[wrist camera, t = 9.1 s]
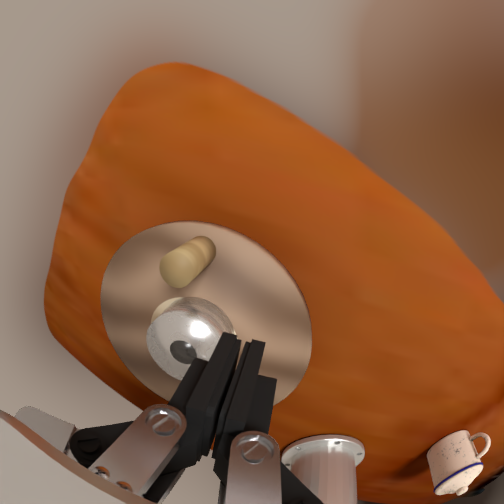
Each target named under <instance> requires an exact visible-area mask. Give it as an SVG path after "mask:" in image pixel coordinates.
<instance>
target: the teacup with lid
mask: <svg viewBox="0 0 504 504" xmlns="http://www.w3.org/2000/svg"><path fill="white" fill-rule="evenodd" d="M477 437H483V438H484V439H485V441H486V445H485V448H484V449H483V450H482V452H480V453H479V454H477V451H476V448H475V446H474V443H473V440H474V439H476V438H477ZM490 444H491V440H490V437H489V436H488V435H487V434H485V433H476V434H474V435H473V436H470V434H469V432H468V431H466V430H461V431H457V432H454V433H452V434H449V435H447V436H446V437H444V438H442V439H441V440H439V441H438V442H437V443H435V444H434V445H433V446H432V447H431V448H430V450H429V451H428V453H427V459H428V463H429V467H430V471H431V475H432V479H433V483H434V492H435V493H436V494H437V495H443V494H447V493H455V492H456V493H457V495H461V494H463V493H465V492H466V491H467V490H468V487H467V486H468V485H469V484H470V483H471V482H472V481H473V480H474V478H475V477H477V476H478V475H479V474H480V472H481V471H482V469H483V463H482V462H481V461H480V459H479V458H481V457H482V456H483V455H484V454H485V453H486V452H487V451H488V449H489V447H490Z"/></svg>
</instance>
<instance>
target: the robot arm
mask: <svg viewBox="0 0 504 504" xmlns="http://www.w3.org/2000/svg"><path fill="white" fill-rule="evenodd" d="M241 342H242V340H239V339H237V335H235V334H231V333H227V332H223V333H222V335H221V337H220V339H219V341H218V343H217V345H216V347H215V349H214V351H213V353H212V355H211V357H210V359H209V361H206V360H203V359H200V358H194V360H193V361H192V363H191V365H190V367H189V368H188V370H187V372H186V374H185V375H184V377H183V379H182V381H181V382H180V384H179V386H178V387H177V389H176V391H175V393H174V394H173V396H172V398H171V400H170V401H169V403H168V405H164V404H158V405H153V406H150V407H148V408H147V409H145V410H144V411H143V412H142V413H141V414H140V415H139V417H137V419H136V420H135V421H130V422H124V423H119V424H113V425H106V426H100V427H92V428H85V429H78V428H76V427H75V425H73V424H70V423H68V422H66V421H63V420H61V419H58V418H56V417H54V416H52V415H49V414H47V413H45V412H43V411H40V410H39V409H37V408H34V407H31V406H28V407H23V408H21V409H20V410H19V411H18V412H17V413H16V415H15V417H13V416H11V415H10V414H8V413H6V412H4V411H2V410H0V504H162V502H163V501H164V499H165V498H166V497H167V495H168V494H169V493H170V491H171V490H172V488H173V487H174V485H175V484H176V483H177V481H178V480H179V478H180V477H181V475H182V474H183V472H184V471H185V468H187V467H190V466H193V465H195V464H196V462H197V461H200V459H201V456H202V455H204V456H208V454H209V451H210V448H211V445H212V443H213V440H214V437H215V442H214V447H213V453H212V458H214V459H215V464H214V469H213V471H214V472H215V473H216V475H217V476H218V477H219V479H220V480H221V481H220V490H219V498H218V504H357V485H356V467H355V466H357V465H358V464H359V463H360V462H361V461H362V460H363V458H364V456H365V450H364V446H363V444H362V443H361V442H360V441H358V440H357V439H355V438H352V437H349V436H344V435H318V436H312V437H308V438H304V439H301V440H298V441H296V442H294V443H292V444H290V445H289V446H288V447H286V449H285V450H284V451H283V454H282V460H281V461H282V462H281V461H280V450H279V446H278V444H277V442H276V441H275V440H274V439H273V438H272V437H271V436H270V435H268V431H269V426H270V420H271V414H272V409H273V403H274V397H275V391H276V384H277V379H276V378H272V377H267V376H263V375H258V373H259V369H260V365H261V361H262V357H263V352H264V348H265V344H266V342H263V341H258V340H254V339H252V341H251V342H247V341H246V342H245V345H244V348H243V351H242V354H241V356H240V359H239V362H238V365H237V361H238V356H239V351H240V347H241ZM236 366H237V368H236ZM215 435H216V436H215Z"/></svg>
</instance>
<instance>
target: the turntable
mask: <svg viewBox="0 0 504 504" xmlns="http://www.w3.org/2000/svg"><path fill="white" fill-rule="evenodd" d="M183 297H199V298H202V299H205V300H208V301H210V302H212V303H213V304H215V305H216V306H218V307H219V308H220V309H221V310H222V311H223V312H224V313H225V314H226V315H227V316H228V318H229V319H230V321H231V323H232V325H233V328H234V333H235V335H237V339H239V340H242V342H241V347H240V351H239V356H238V361H237V365H238V362H239V359H240V356H241V354H242V351H243V348H244V345H245V342H246V341H247V342H251V341H252V339H254V340H258V341H263V342H266V344H265V348H264V352H263V357H262V361H261V365H260V369H259V373H258V375H263V376H267V377H272V378H276V379H277V384H276V391H275V397H274V403H273V405H275V404H277V403H279V402H280V401H281V400H283V399H284V398H286V397H287V396H288V395H289V394H290V393H291V392H292V391H293V390H294V389H295V388H296V386H297V385H298V384H299V382H300V381H301V380H302V378H303V376H304V374H305V372H306V370H307V367H308V364H309V360H310V356H311V348H312V330H311V320H310V315H309V310H308V307H307V304H306V301H305V299H304V296H303V294H302V292H301V290H300V288H299V287H298V285H297V283H296V281H295V280H294V278H293V277H292V276H291V274H290V273H289V272H288V270H287V269H286V268H285V266H284V265H283V264H282V263H281V262H280V261H279V260H278V259H277V258H276V257H275V256H274V255H273V254H272V253H270V252H269V251H268V250H266V249H265V248H264V247H263V246H261V245H260V244H259V243H257V242H255V241H254V240H252V239H250V238H249V237H247V236H245V235H244V234H241V233H239V232H237V231H235V230H232V229H230V228H228V227H224V226H221V225H217V224H214V223H209V222H202V221H175V222H169V223H164V224H161V225H158V226H155V227H152V228H149V229H147V230H144V231H142V232H141V233H139V234H137V235H135V236H133V237H132V238H130V239H129V240H128V241H127V242H125V243H124V244H123V245H122V246H121V247H120V248H119V249H118V250H117V252H116V253H115V254H114V256H113V257H112V259H111V260H110V262H109V264H108V266H107V269H106V271H105V274H104V278H103V281H102V287H101V310H102V317H103V321H104V325H105V329H106V331H107V334H108V336H109V339H110V341H111V343H112V345H113V347H114V349H115V351H116V352H117V354H118V355H119V357H120V359H121V360H122V361H123V363H124V364H125V365H126V367H127V368H128V369H129V370H130V371H131V372H132V373H133V375H134V376H135V377H136V378H137V379H138V380H140V381H141V382H142V383H143V384H144V385H145V386H146V387H148V388H149V389H150V390H152V391H153V392H154V393H156V394H157V395H159V396H161V397H162V398H164V399H165V400H167V401H170V400H171V398H172V396H173V394H174V393H175V391H176V389H177V387H178V386H179V384H180V382H181V380H178V379H176V378H174V377H172V376H171V375H169V374H168V373H166V372H165V371H164V370H162V369H161V368H160V367H159V366H158V364H157V363H156V362H155V361H154V359H153V358H152V356H151V354H150V352H149V350H148V347H147V342H146V335H147V330H148V328H149V326H150V325H151V323H152V322H153V321H154V320H155V319H156V318H157V317H158V316H159V315H160V314H161V313H162V312H163V311H164V310H165V309H166V308H167V307H168V306H169V305H170V304H171V303H172V302H174V301H175V300H177V299H179V298H183ZM236 368H237V366H236Z"/></svg>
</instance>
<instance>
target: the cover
mask: <svg viewBox="0 0 504 504" xmlns="http://www.w3.org/2000/svg"><path fill="white" fill-rule="evenodd" d="M223 332H227V333H231V334H235V333H234V328H233V325H232V323H231V321H230V319H229V318H228V316H227V315H226V314H225V313H224V312H223V311H222V310H221V309H220V308H219V307H218V306H216V305H215V304H213V303H212V302H210V301H208V300H205V299H202V298H199V297H183V298H179V299H177V300H175V301H174V302H172V303H171V304H170V305H169V306H168V307H167V308H166V309H165V310H164V311H163V312H162V313H161V314H160V315H159V316H158V317H157V318H156V319H155V320H154V321H153V322H152V323H151V325H150V326H149V328H148V330H147V335H146V342H147V347H148V350H149V352H150V354H151V356H152V358H153V359H154V361H155V362H156V363H157V364H158V366H159V367H160V368H161V369H162V370H164V371H165V372H166V373H168V374H169V375H171V376H172V377H174V378H176V379H178V380H181V381H182V379H183V377H184V375H185V374H186V372H187V370H188V368H189V367H190V365H191V363H192V361H193V360H194V358H200V359H203V360H206V361H209V359H210V357H211V355H212V353H213V351H214V349H215V347H216V345H217V343H218V341H219V339H220V337H221V335H222V333H223Z"/></svg>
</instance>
